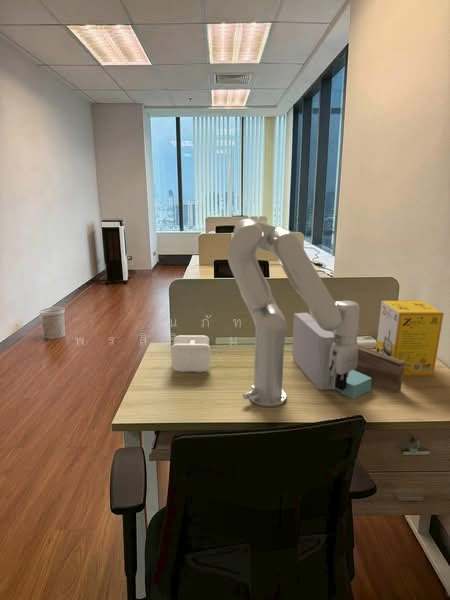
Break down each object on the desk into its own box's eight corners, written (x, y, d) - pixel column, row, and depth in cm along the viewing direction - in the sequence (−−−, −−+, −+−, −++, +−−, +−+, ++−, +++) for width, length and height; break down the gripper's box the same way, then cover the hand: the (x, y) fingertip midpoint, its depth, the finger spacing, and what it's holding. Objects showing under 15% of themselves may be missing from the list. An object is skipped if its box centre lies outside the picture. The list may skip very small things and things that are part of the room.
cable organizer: (211, 361, 159) (211, 335, 156) (210, 373, 149) (210, 345, 146) (175, 361, 159) (174, 335, 156) (171, 373, 149) (170, 345, 146)
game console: (318, 390, 136) (322, 338, 131) (291, 358, 162) (293, 313, 156) (333, 389, 137) (338, 336, 132) (304, 357, 163) (307, 312, 157)
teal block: (352, 399, 131) (353, 386, 130) (333, 389, 138) (334, 376, 136) (370, 390, 137) (371, 378, 135) (351, 381, 143) (352, 369, 142)
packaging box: (374, 357, 163) (381, 300, 156) (413, 357, 163) (422, 300, 156) (390, 375, 148) (398, 312, 141) (433, 375, 148) (443, 313, 141)
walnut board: (396, 393, 135) (400, 364, 132) (343, 370, 151) (345, 344, 148) (401, 390, 137) (405, 361, 133) (348, 368, 153) (350, 342, 150)
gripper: (339, 347, 120) (335, 399, 125) (368, 336, 129) (363, 386, 134) (320, 340, 126) (317, 390, 131) (349, 330, 134) (344, 377, 140)
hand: (340, 388), depth 132 cm, fingers closed
